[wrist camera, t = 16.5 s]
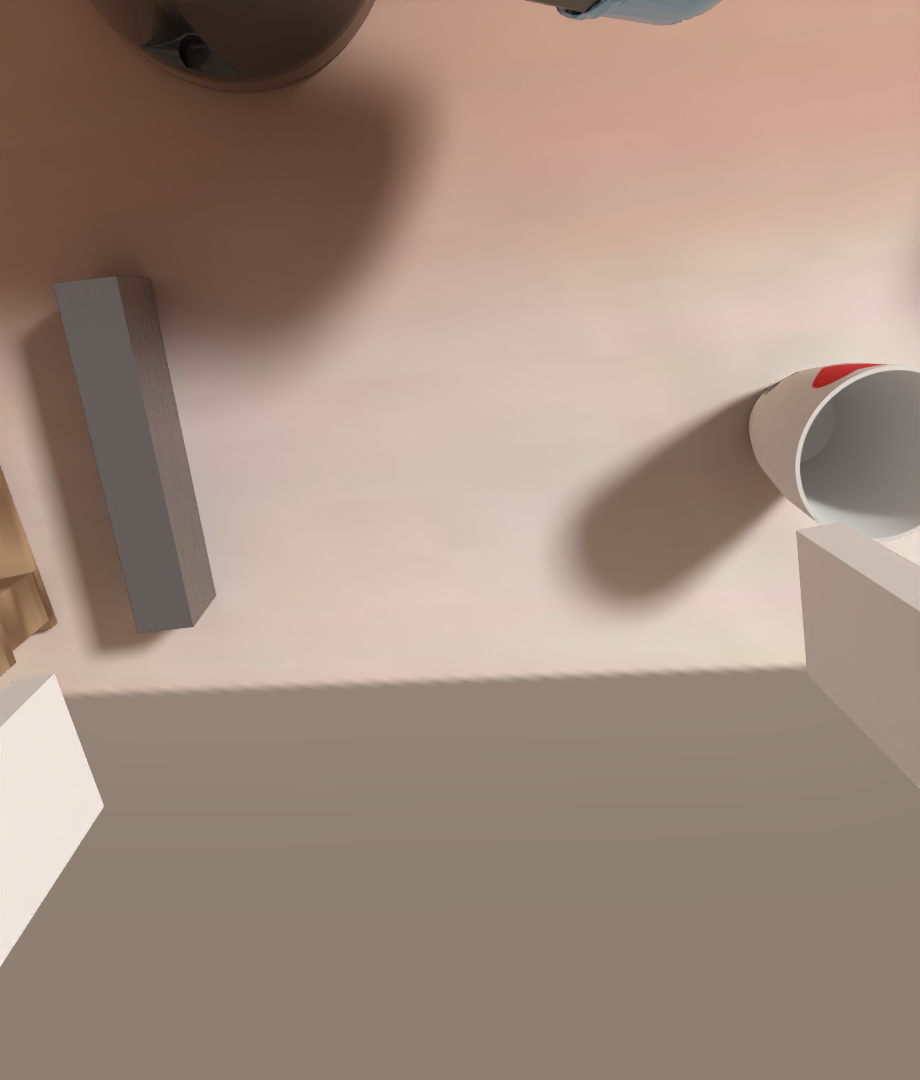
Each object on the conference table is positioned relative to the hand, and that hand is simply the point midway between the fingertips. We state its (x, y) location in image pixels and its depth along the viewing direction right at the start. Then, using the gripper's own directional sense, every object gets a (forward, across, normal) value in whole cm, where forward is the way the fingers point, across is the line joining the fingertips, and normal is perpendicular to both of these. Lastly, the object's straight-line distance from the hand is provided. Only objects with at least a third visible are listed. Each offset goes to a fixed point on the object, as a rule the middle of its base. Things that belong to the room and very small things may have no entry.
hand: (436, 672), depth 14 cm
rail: (+33, -16, +1) cm, 37 cm away
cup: (+33, +20, -4) cm, 39 cm away
